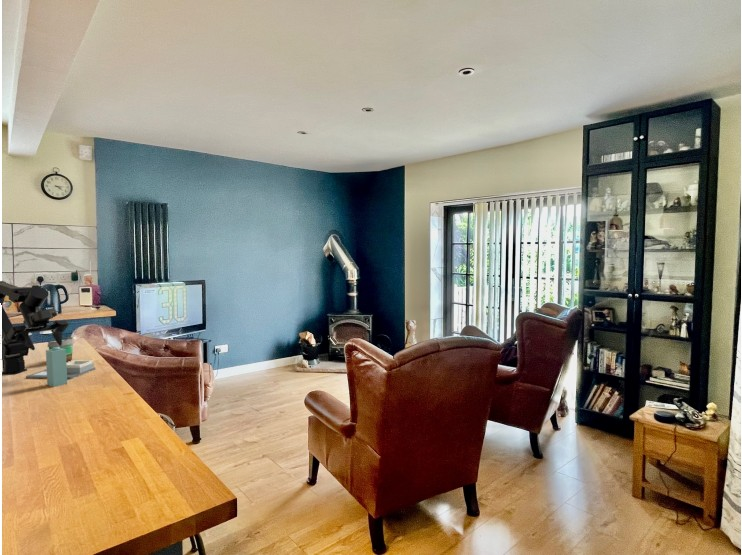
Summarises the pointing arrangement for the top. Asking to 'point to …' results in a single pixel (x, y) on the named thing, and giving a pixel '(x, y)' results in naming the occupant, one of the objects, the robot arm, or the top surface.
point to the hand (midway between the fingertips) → (47, 347)
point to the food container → (64, 347)
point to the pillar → (56, 366)
